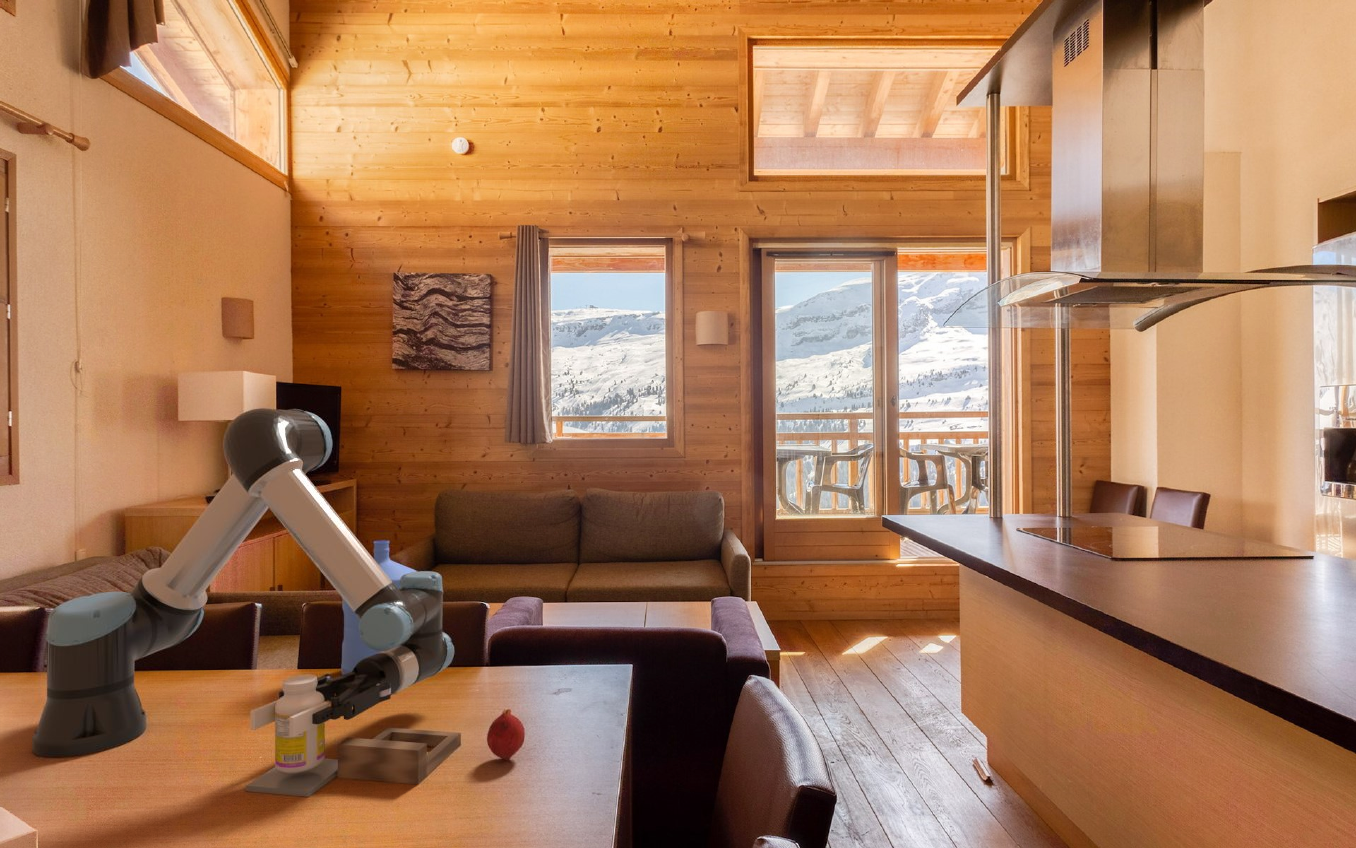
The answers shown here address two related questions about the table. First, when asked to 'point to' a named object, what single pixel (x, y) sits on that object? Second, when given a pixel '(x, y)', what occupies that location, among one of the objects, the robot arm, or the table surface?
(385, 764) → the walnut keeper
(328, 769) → the slate coaster
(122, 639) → the robot arm
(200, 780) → the table surface
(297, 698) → the supplement bottle
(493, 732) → the onion
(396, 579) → the water jug
